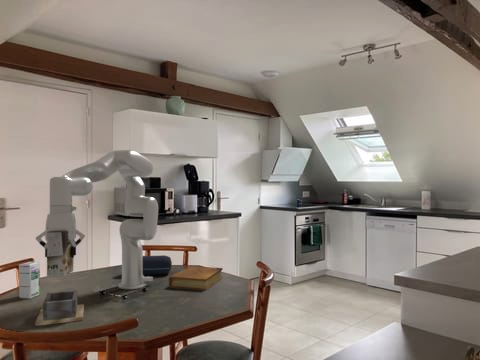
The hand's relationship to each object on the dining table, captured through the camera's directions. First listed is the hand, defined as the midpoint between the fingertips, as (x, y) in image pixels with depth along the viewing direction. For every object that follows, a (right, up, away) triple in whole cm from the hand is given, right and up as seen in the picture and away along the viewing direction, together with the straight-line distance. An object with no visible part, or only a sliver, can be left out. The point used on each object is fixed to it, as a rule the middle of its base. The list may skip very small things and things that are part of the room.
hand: (60, 257), depth 139 cm
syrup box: (-25, -22, +25) cm, 42 cm away
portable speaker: (+17, -22, +63) cm, 69 cm away
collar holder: (0, -21, 0) cm, 21 cm away
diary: (+45, -22, +46) cm, 68 cm away
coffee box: (0, -6, 0) cm, 6 cm away
